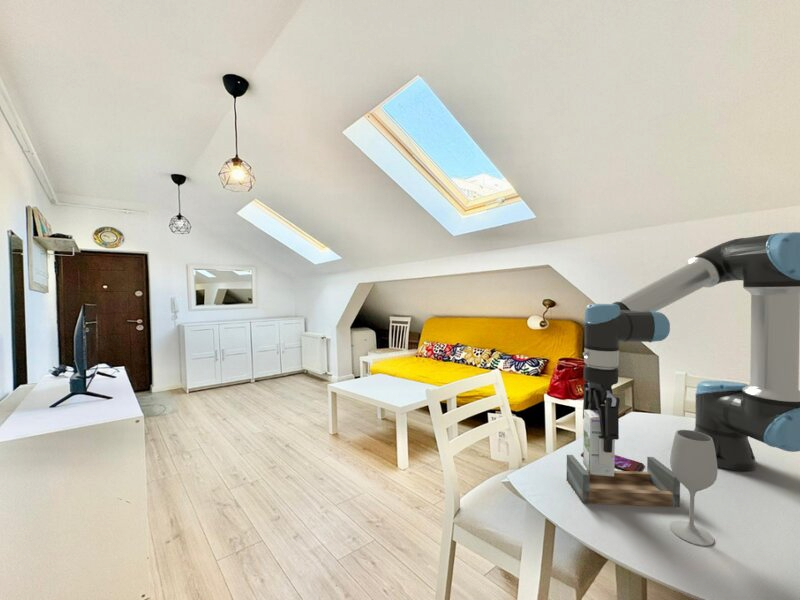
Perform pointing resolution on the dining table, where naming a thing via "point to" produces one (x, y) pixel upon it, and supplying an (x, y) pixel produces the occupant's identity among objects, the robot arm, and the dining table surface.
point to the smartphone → (626, 464)
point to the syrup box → (595, 445)
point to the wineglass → (693, 478)
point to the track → (626, 485)
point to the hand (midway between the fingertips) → (598, 456)
